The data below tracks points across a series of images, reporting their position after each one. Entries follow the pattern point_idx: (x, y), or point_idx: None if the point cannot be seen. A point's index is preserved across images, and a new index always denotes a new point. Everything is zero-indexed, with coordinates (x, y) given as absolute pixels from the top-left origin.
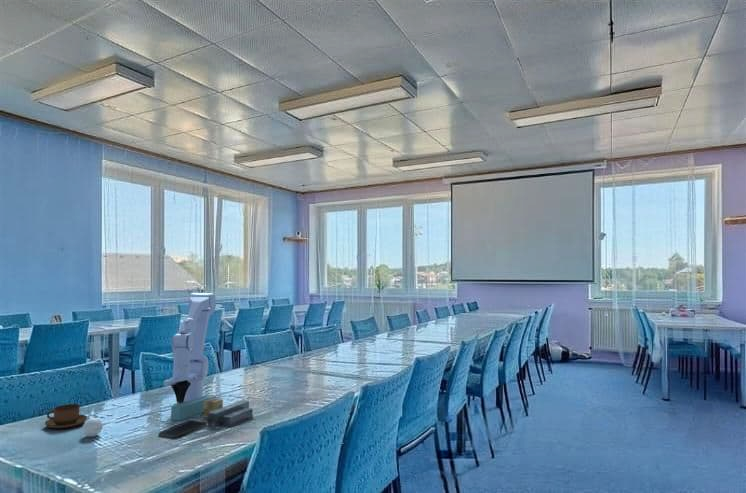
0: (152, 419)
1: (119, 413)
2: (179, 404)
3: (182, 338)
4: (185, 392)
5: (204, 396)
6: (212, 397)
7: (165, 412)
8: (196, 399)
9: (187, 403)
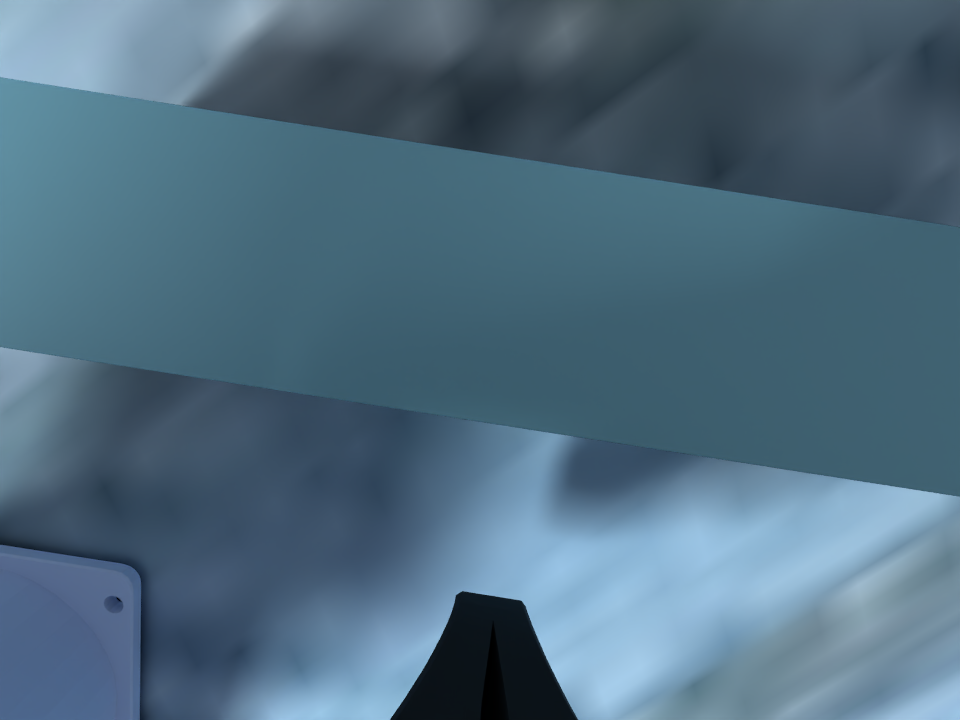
0: (930, 631)
1: None
2: (915, 440)
3: None
4: (433, 718)
5: (126, 318)
6: (81, 90)
7: (608, 665)
8: (422, 336)
9: (803, 319)
